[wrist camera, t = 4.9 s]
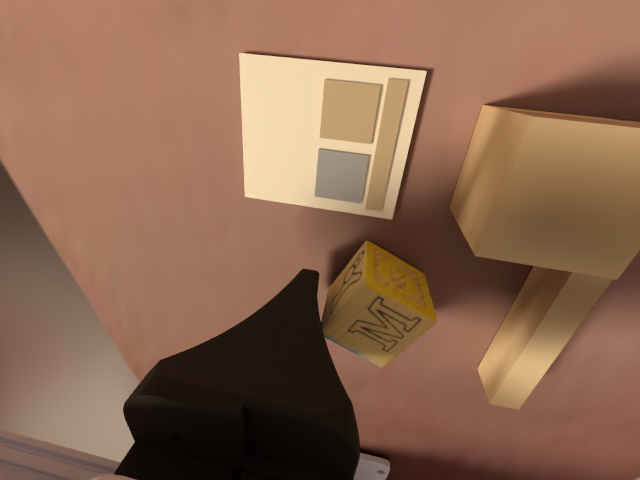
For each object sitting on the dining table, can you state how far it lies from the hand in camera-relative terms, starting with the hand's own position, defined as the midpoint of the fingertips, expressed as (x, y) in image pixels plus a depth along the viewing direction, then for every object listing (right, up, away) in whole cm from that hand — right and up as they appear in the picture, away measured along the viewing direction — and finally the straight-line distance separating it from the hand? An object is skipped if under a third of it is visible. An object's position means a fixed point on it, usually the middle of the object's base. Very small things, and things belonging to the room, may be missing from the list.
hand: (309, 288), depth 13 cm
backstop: (+9, +1, -1) cm, 9 cm away
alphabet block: (+3, 0, +1) cm, 3 cm away
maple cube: (+7, +5, -3) cm, 9 cm away
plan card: (+1, +6, -2) cm, 6 cm away
